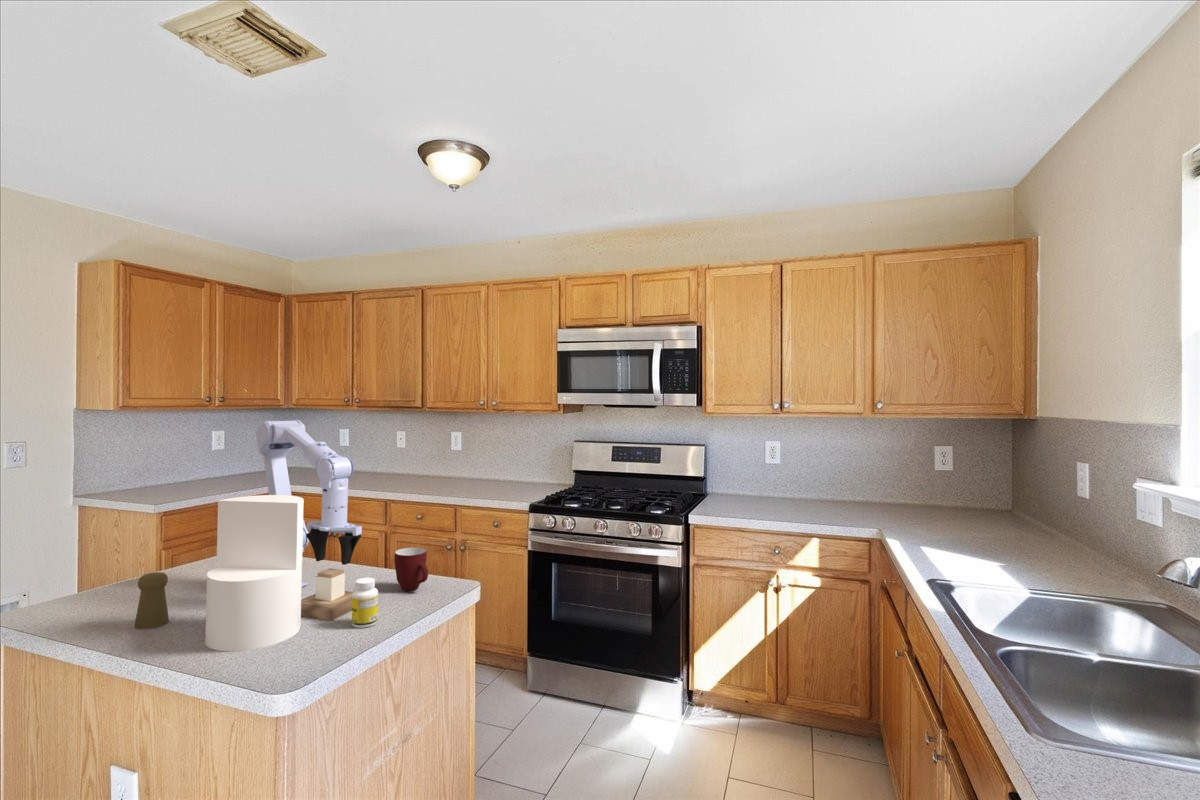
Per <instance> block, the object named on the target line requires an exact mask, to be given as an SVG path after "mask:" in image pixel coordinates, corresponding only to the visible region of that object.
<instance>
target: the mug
mask: <svg viewBox="0 0 1200 800" xmlns="http://www.w3.org/2000/svg"><path fill="white" fill-rule="evenodd" d="M427 555H428V553H427V549H425V548H422V547H406V548H405V547H404V548H400V549H398V550H395V551H394V559H393V560H394V570H395V574H396V580H397V583H398V585H399V587H400V589H401V591H403V592H413V591H414V592H415V591H417V590H418V589H419V587H420V585H421V584H423V583H425V582H426V581H427V580H428V578H429V569H428V567H427Z"/></svg>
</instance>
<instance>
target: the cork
mask: <svg viewBox="0 0 1200 800" xmlns="http://www.w3.org/2000/svg"><path fill="white" fill-rule="evenodd" d="M168 582H169V578H168V575H167V574H166V573H165V572H160V571H156V572H149V573H145V574H143V575H141V576H140V577H139V578H138V581H137V588H138V590H140V594H139V599H138V605H137V610H136V616H135V621H134V629H135V630H149V629H156V628H159V627H162V626H165V625H167V624H168V623H169V622H170V617H169V610H168V603H167V598H166V597H167V596H166V595H167V594H166V590H165V587H166V586H167V584H168Z"/></svg>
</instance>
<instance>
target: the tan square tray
mask: <svg viewBox="0 0 1200 800" xmlns="http://www.w3.org/2000/svg"><path fill="white" fill-rule="evenodd" d="M353 592H354V591H349V590H348V591H347V590H345V595H343V596H341V597H339V598H337V599H335V600H332V601H327V600H320V599H316V593H315V594H311V595H310V596H307V597H304V598H303V599H302V598H301V617H305V618H311V619H318V620H324V621H329V622H330V621H331V622H332V621H334V620H336V619H338V618H340V617H342V616H344V615H346V614H348V613H350V612H352V594H353Z"/></svg>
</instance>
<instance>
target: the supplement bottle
mask: <svg viewBox="0 0 1200 800" xmlns="http://www.w3.org/2000/svg"><path fill="white" fill-rule="evenodd" d="M375 585H376V579H375V578H374V577H362V578H358V579H357V580H356V581H355V588H356V589H355V590H353V591H352V592H353V594H352V611H351V626H352V627H353V628H356V629H367V628H370V627H373V626H375V625H377V623H378V620H379V617H378V616H379V590H378V589H377V588H376V587H375Z"/></svg>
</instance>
